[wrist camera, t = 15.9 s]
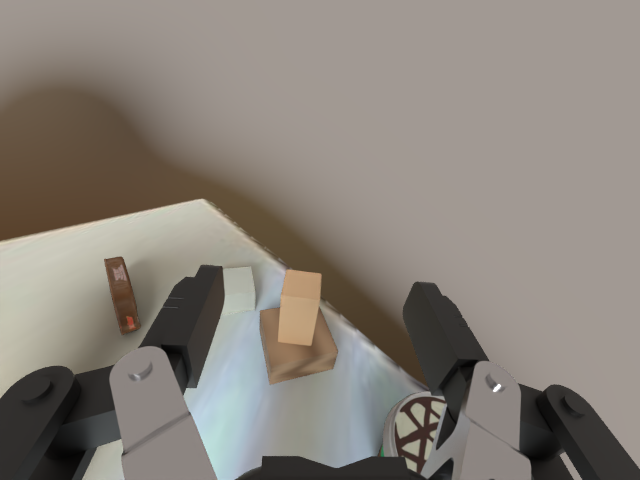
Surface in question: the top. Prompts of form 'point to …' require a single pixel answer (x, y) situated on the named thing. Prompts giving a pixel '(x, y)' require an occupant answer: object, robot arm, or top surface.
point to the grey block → (238, 290)
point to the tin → (122, 294)
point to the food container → (412, 429)
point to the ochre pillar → (299, 307)
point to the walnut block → (295, 349)
